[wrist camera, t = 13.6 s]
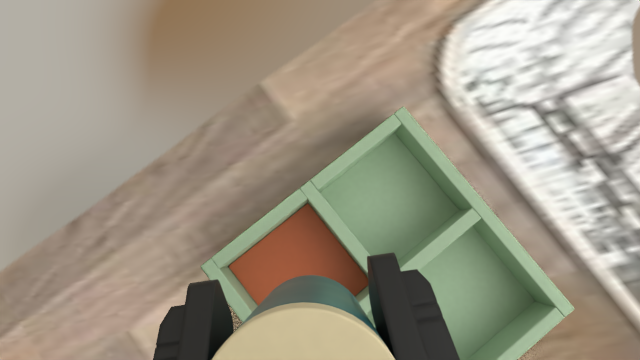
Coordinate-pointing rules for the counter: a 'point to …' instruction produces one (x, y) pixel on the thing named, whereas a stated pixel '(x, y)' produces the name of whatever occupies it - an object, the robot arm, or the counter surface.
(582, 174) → the counter surface
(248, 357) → the teal cream-capped cylinder
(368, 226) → the grid
